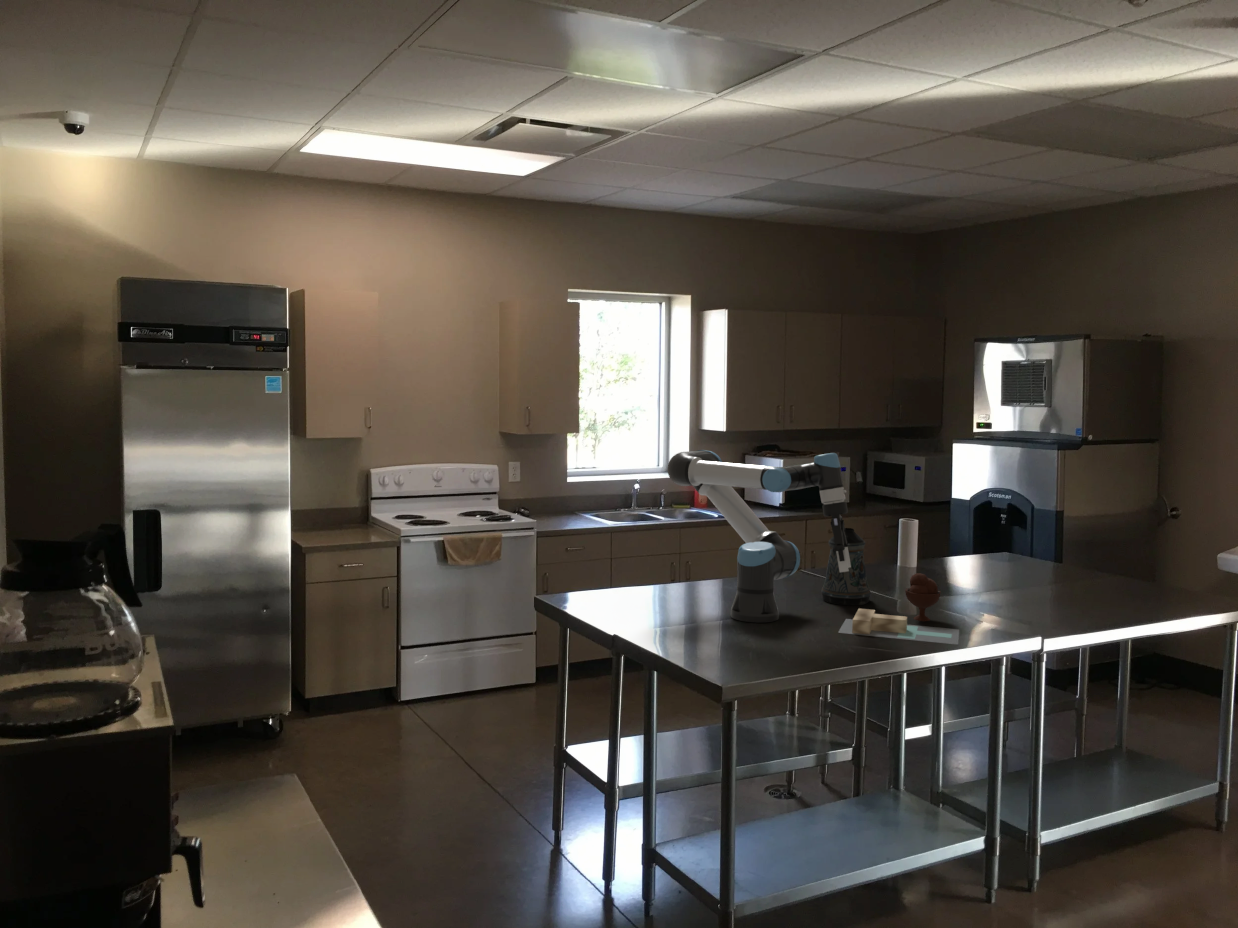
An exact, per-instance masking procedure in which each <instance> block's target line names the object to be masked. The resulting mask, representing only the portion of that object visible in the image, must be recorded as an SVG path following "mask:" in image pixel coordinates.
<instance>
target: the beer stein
mask: <svg viewBox="0 0 1238 928" xmlns="http://www.w3.org/2000/svg"><path fill="white" fill-rule="evenodd" d="M845 535H846V540H847V543H849V545H850V546H848V552H849V558H850V564H851V567H850V568H848V569H849V571H847V572H840V571H839V565H838V560H837V554H836V551H834V550H833V548H835V542H834V535H833V536H832V537H831V538H830V539H829V540H828V546H829V548H830V551H829V556H828V561H827V566H826V572H825V579H824V583H823V586H822V587H821V591H820V592H821V594H822V600H823V601H824V602H826V603H830V604H836V605H842V606H862V605H866V604H868V603H869V602H870V598H871V588H870V586H869V583H868V577H867V572H866V571H867V570H866V563H865V554H864V549H865V546H866V541H865V540H864V539H863V538H862V537H861V536H860V535H859V534H858V533H856V532H855V529H854V528H851V527H845Z"/></svg>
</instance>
